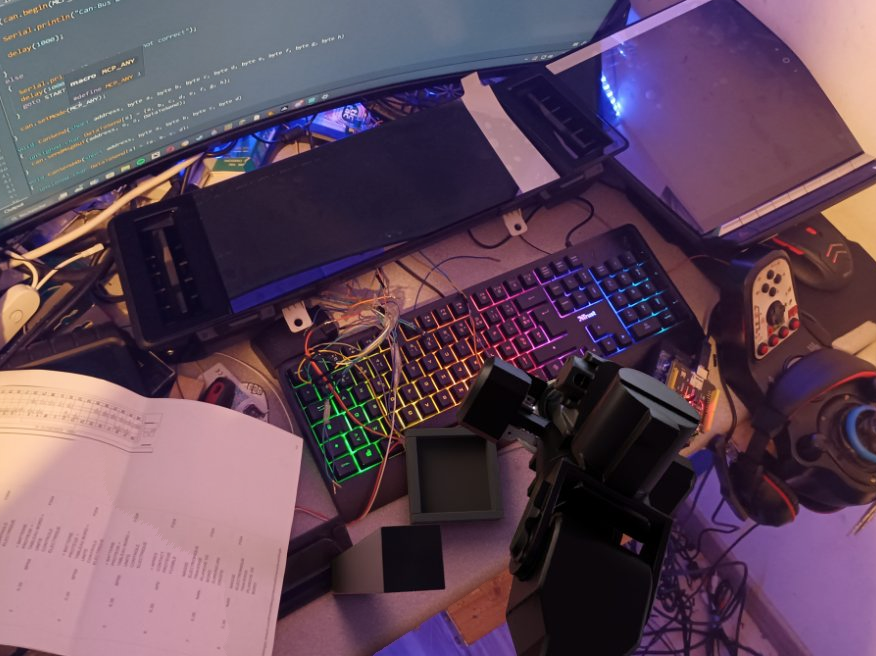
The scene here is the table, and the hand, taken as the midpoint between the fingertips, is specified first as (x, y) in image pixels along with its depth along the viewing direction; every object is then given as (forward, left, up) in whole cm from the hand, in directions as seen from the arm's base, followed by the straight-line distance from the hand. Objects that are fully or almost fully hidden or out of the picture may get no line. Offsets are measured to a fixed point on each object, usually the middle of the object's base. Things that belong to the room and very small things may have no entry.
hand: (570, 399), depth 66 cm
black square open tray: (-5, +9, -13) cm, 16 cm away
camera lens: (-1, +1, -7) cm, 7 cm away
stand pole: (-14, +20, -13) cm, 27 cm away
